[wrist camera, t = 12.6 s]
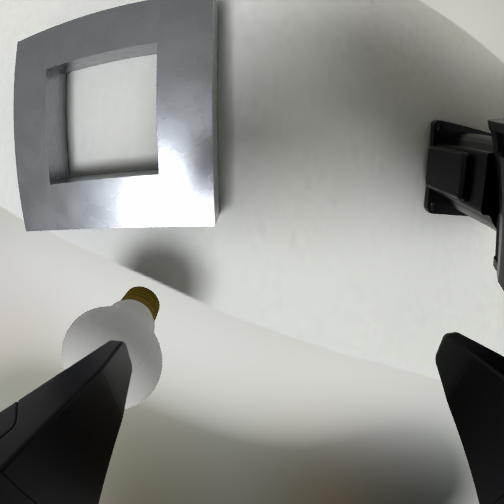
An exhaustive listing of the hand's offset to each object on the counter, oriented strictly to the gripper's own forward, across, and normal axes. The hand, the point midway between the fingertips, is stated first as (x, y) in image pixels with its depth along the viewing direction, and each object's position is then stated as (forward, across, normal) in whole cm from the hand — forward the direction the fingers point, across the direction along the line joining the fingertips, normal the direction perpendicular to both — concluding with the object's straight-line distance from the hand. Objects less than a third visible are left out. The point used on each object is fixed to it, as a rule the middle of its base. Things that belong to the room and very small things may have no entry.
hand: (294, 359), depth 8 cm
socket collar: (+13, +10, -7) cm, 18 cm away
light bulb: (+13, +9, +6) cm, 17 cm away
